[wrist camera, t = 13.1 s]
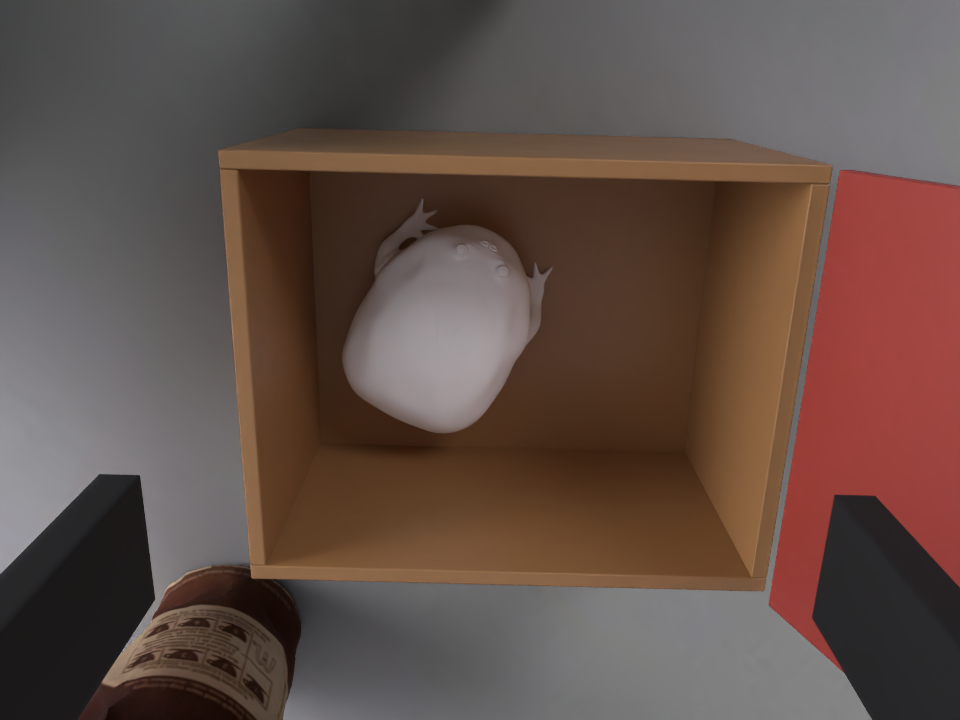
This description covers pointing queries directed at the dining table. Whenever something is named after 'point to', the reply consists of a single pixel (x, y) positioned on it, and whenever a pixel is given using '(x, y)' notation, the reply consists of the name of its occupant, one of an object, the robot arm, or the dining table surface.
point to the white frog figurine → (441, 324)
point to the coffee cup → (207, 653)
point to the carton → (527, 358)
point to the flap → (878, 382)
